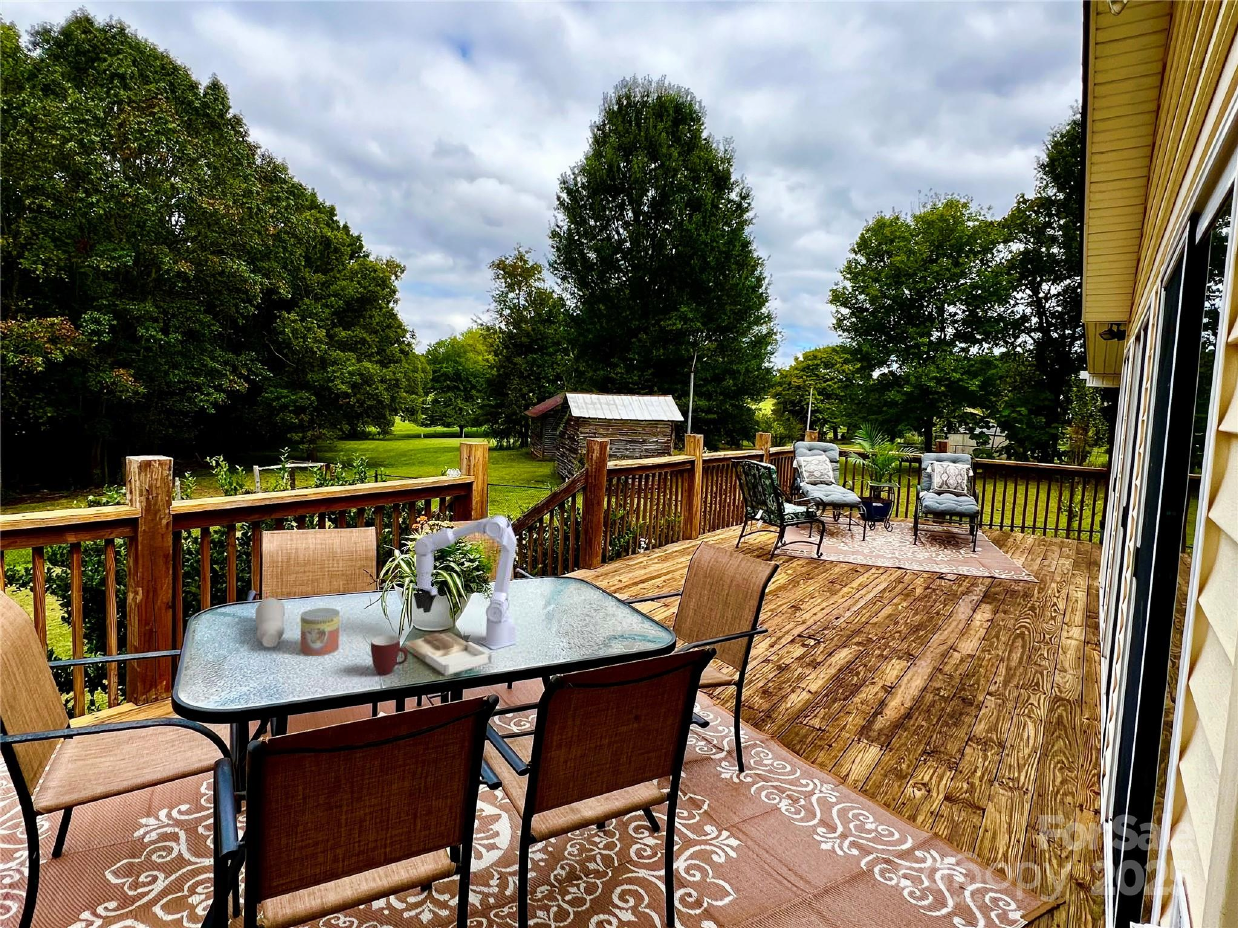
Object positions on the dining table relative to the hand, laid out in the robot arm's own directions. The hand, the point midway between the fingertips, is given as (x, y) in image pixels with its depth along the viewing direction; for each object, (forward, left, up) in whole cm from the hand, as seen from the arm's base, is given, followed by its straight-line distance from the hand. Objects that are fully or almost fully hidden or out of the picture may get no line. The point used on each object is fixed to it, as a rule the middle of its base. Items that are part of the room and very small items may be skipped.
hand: (423, 610), depth 215 cm
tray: (0, +24, -10) cm, 26 cm away
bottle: (+39, -33, -11) cm, 52 cm away
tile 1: (0, +8, -8) cm, 12 cm away
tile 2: (0, +14, -8) cm, 16 cm away
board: (0, +11, -10) cm, 15 cm away
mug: (+20, +18, -11) cm, 29 cm away
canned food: (+30, -11, -11) cm, 34 cm away
